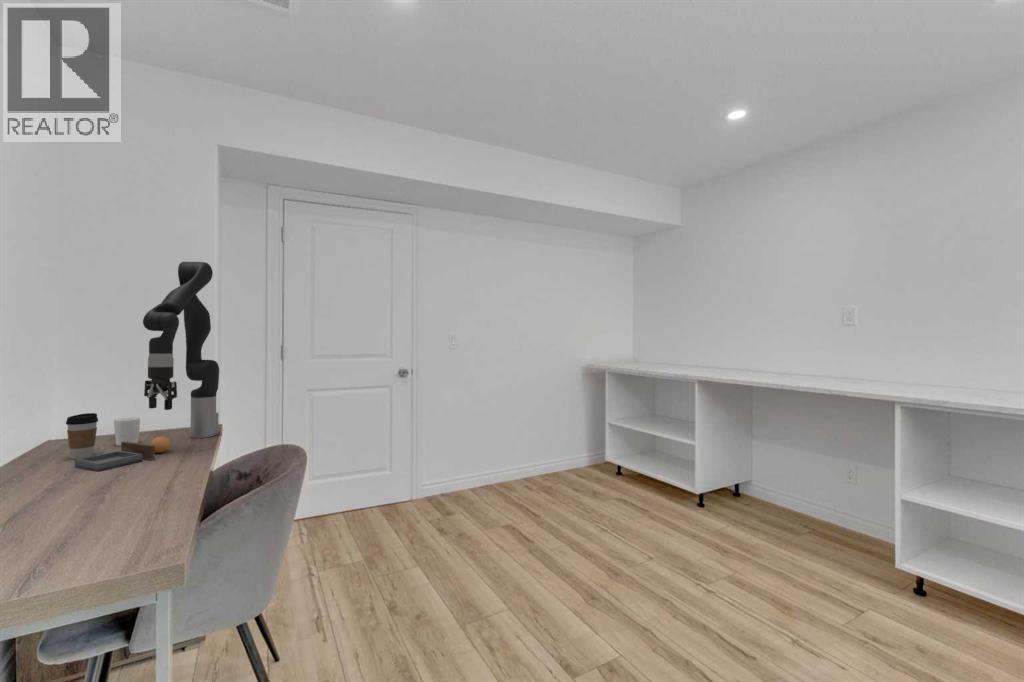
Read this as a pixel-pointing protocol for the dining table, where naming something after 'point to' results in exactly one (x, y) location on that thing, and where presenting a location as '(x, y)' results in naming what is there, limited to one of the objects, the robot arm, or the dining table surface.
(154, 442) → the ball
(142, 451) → the fence
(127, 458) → the tray
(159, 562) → the dining table surface
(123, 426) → the white cup
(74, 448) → the coffee cup
